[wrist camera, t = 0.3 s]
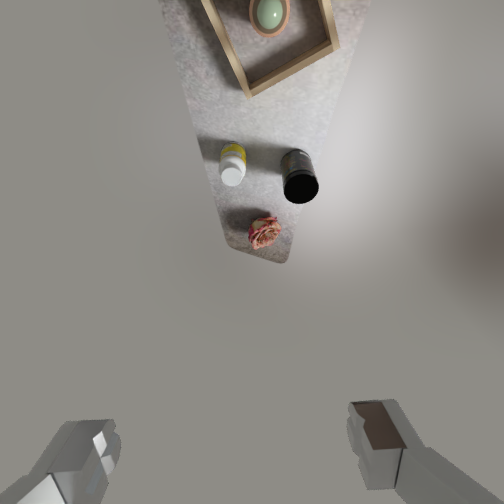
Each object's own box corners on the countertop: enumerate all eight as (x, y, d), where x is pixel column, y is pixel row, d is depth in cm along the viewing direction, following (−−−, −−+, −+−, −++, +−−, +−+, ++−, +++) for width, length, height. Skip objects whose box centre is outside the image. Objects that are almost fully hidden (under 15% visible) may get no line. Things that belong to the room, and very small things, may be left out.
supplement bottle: (242, 168, 60) (241, 192, 53) (219, 161, 59) (214, 185, 52) (249, 145, 56) (248, 168, 49) (224, 137, 55) (219, 160, 48)
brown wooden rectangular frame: (188, -38, 37) (182, -39, 34) (297, -126, 32) (300, -136, 29) (247, 92, 49) (247, 99, 46) (334, 43, 44) (340, 47, 41)
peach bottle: (244, -5, 40) (241, 0, 31) (276, -28, 38) (282, -29, 30) (259, 35, 43) (260, 49, 35) (289, 16, 41) (298, 26, 33)
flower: (238, 236, 72) (254, 257, 69) (238, 214, 64) (256, 237, 61) (267, 221, 75) (284, 241, 72) (270, 199, 68) (289, 219, 64)
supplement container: (274, 171, 60) (277, 197, 53) (288, 143, 56) (293, 168, 48) (301, 180, 62) (307, 208, 55) (316, 154, 57) (325, 180, 50)
